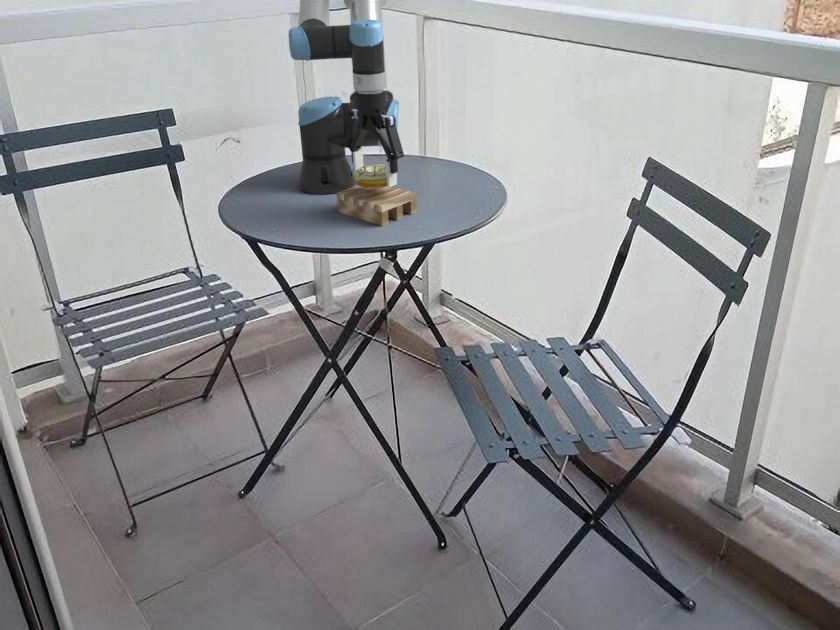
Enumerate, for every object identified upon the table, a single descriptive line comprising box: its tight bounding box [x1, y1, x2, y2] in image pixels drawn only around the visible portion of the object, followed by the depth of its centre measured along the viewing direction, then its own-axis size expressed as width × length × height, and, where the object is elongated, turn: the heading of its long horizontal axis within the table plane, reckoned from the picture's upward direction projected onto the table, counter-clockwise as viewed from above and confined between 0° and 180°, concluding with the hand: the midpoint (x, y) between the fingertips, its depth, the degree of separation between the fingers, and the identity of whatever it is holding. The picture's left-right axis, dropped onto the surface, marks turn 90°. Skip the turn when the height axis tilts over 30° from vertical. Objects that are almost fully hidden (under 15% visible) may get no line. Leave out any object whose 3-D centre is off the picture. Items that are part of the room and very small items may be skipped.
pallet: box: [336, 185, 418, 227], centre depth 203 cm, size 16×12×5 cm
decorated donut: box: [352, 163, 387, 188], centre depth 200 cm, size 10×11×4 cm
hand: (375, 181), depth 201 cm, fingers closed on decorated donut, 11 cm apart
